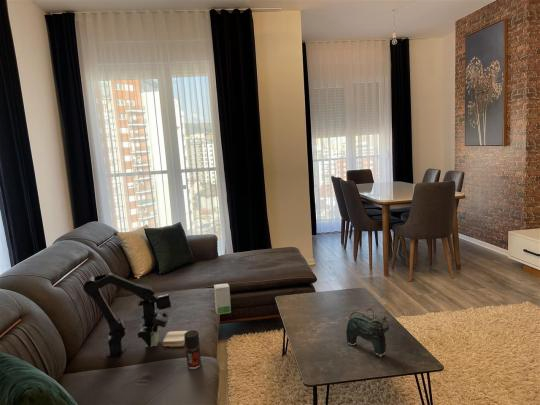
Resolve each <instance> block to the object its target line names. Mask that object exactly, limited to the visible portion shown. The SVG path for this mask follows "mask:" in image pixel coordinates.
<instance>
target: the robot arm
mask: <svg viewBox="0 0 540 405" xmlns="http://www.w3.org/2000/svg"><path fill="white" fill-rule="evenodd" d="M110 284H111V285H113V286H116V287H118V288H121V289H123V290H125V291H128V292H130V293H133V294H134V295H135V296H136V297H137V298H140V299H139V301H138V302H137V306H138V307H142V308H141V309H142V315H141V319H143V322H142V328H141V329H140V330H139V331H138V332H137V338H138V339H142V341H143V342H145V345H146V344H147V345H148V347H149V348H151V347H150V346H151V337H152V336H153V334H154V333H153V332H158V329H159V327H161V328H166V326H167V324H168V320H169V315H168V312H163V313H162V314H161V313H160V314H158V311H161V310H166V309H171V308H172V303H171V299H170V294H169V293H166V294H162V295H157V293H155V292H154V291H153V288H152V286H150V285H148V284H143V283H136V282H134V281H132V280H128V279H126V278H124V277H121V276H119V275H116V274H114V273H113V272H108V273H104V274H99V275H95V276H88V277H86V278H85V279H84V281H83V291H84V292H85V293H86V294H87V295H88V297H90V298H91V299H92V300H93V301H94V303H95V305H96V306H97V308H98V309H99V312H100V313H101V314H102V316H103V318H104V319H105V321H106V322H107V324H108V328H109V332H108V333H107V344H108V350H109V352H108V353H107V354H106V357H107V358H108V357H109V358H111V357H121V356H122V355H123V353H124V352H125V351H126V347H123V342H122V339H123V338H124V337H125V335H126V323H125V322H124V321H123V320H122V317H120V318H118V317H116V315H115V314H114V312H113V310H112V309H111V307H110V305H109V304H108V301H107V300H106V299H105V297H104V295H103V294H102V291H101V288H103V287H105V286H107V285H110ZM156 309H157V310H158V311H156ZM144 327H145V328H144ZM148 347H147V348H148Z"/></svg>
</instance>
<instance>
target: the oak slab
mask: <svg viewBox="0 0 540 405" xmlns="http://www.w3.org/2000/svg"><path fill="white" fill-rule="evenodd" d="M188 331H189V330H175V331H173V330H172V331H168V332H166V335H165V337H164V339H163V341H162V347H163V346H165V348H166V346H170V347H184V346H185V337H184V334H185V333H186V332H188Z"/></svg>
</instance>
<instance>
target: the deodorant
mask: <svg viewBox="0 0 540 405" xmlns="http://www.w3.org/2000/svg"><path fill="white" fill-rule="evenodd" d="M187 331H188V332H186V333H185V334H184V337H185V344H184V346H185V347H184V348H185V355H186V366H187V365H188V366H189V367H196V366H199V365H200V364H201V365H202V359H201V358H202V357H201V356H202V355H201V347H200V338H199V336H200V335H199V330H193V329H192V330H187Z"/></svg>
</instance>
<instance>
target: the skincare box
mask: <svg viewBox="0 0 540 405" xmlns="http://www.w3.org/2000/svg"><path fill="white" fill-rule="evenodd" d="M213 288H214V306H215V309H214V310H215V314H216V315H217V316H218V315H224V314H231V313H232V311H231V310H232V309H231V308H232V307H231V305H232V304H231V292H230V290H231V289H230V285H229V283H219V284H213Z"/></svg>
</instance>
